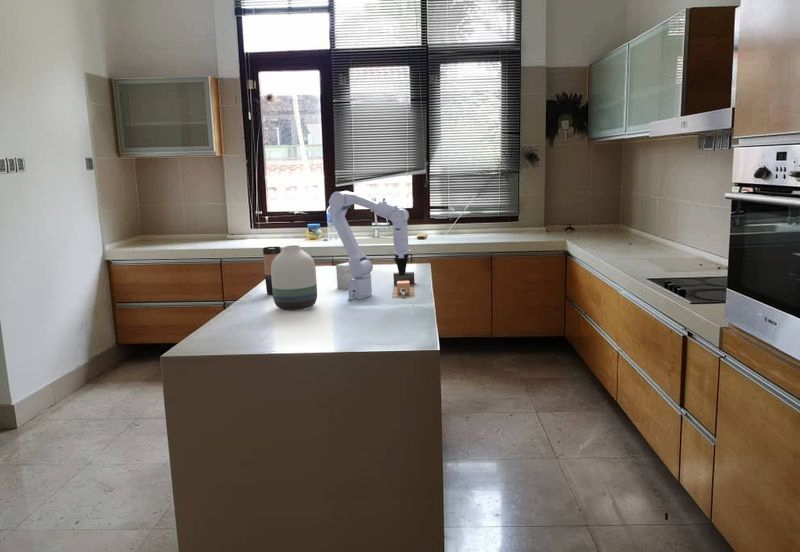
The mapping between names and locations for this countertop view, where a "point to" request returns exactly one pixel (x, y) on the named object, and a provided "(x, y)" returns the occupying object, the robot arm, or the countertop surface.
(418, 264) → the countertop surface
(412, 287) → the rail board
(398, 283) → the slider block
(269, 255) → the travel mug
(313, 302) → the vase
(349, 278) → the small box
